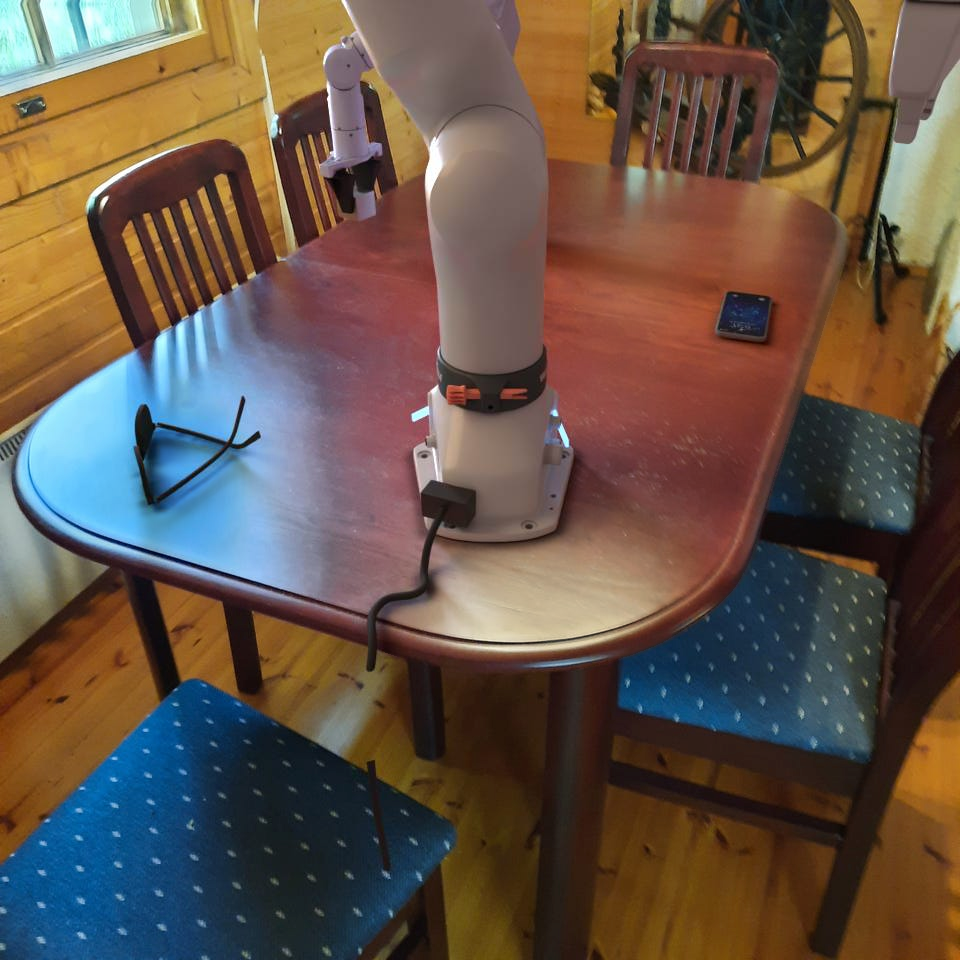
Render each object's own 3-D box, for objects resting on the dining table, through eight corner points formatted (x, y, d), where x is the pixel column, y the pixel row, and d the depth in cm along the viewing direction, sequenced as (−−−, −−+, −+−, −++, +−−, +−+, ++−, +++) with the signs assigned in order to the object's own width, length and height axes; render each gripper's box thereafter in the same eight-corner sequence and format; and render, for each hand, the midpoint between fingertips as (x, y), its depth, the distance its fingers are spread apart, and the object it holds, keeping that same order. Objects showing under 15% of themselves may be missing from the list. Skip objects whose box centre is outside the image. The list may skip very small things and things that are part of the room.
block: (356, 209, 153) (353, 185, 150) (376, 215, 150) (373, 190, 148) (338, 216, 150) (335, 191, 148) (358, 222, 148) (355, 197, 145)
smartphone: (773, 295, 132) (766, 339, 121) (772, 301, 133) (765, 345, 121) (725, 289, 134) (713, 331, 123) (724, 295, 135) (712, 337, 123)
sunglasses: (270, 486, 97) (262, 449, 94) (137, 510, 94) (125, 474, 91) (257, 411, 110) (250, 377, 107) (140, 430, 107) (130, 396, 104)
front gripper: (935, -48, 84) (897, 102, 92) (896, -22, 70) (856, 152, 78) (1007, -45, 81) (961, 109, 90) (981, -19, 67) (930, 161, 76)
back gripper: (356, 113, 148) (364, 192, 156) (300, 134, 138) (312, 216, 146) (389, 118, 145) (395, 198, 153) (335, 139, 135) (345, 223, 143)
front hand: (912, 129), depth 84 cm, fingers open, 8 cm apart
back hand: (357, 207), depth 149 cm, fingers closed on block, 5 cm apart
